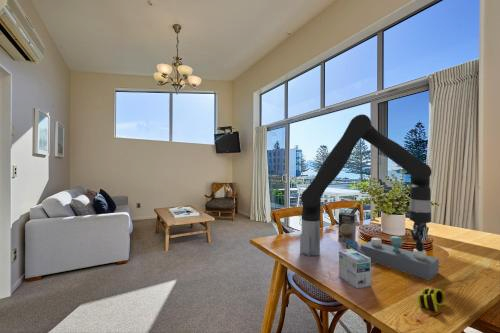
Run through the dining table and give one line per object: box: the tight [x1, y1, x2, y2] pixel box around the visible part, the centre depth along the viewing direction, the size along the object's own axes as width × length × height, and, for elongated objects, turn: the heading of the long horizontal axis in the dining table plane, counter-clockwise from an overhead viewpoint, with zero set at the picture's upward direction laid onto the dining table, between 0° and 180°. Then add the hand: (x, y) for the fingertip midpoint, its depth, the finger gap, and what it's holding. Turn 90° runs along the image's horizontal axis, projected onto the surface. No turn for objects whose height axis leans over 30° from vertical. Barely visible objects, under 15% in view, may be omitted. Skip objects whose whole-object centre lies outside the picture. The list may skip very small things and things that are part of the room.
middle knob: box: [390, 235, 403, 253], centre depth 106 cm, size 4×4×8 cm
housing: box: [359, 240, 440, 281], centre depth 106 cm, size 11×28×6 cm, turn 36°
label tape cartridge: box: [345, 238, 365, 255], centre depth 103 cm, size 9×4×12 cm, turn 9°
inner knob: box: [370, 237, 383, 247], centre depth 114 cm, size 4×4×8 cm
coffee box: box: [337, 211, 357, 244], centre depth 139 cm, size 9×6×16 cm
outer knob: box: [412, 248, 427, 260], centre depth 99 cm, size 4×4×8 cm
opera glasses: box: [417, 287, 446, 313], centre depth 76 cm, size 10×5×5 cm, turn 128°
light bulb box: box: [338, 248, 372, 289], centre depth 91 cm, size 11×7×11 cm, turn 17°
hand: (419, 250), depth 99 cm, fingers closed
